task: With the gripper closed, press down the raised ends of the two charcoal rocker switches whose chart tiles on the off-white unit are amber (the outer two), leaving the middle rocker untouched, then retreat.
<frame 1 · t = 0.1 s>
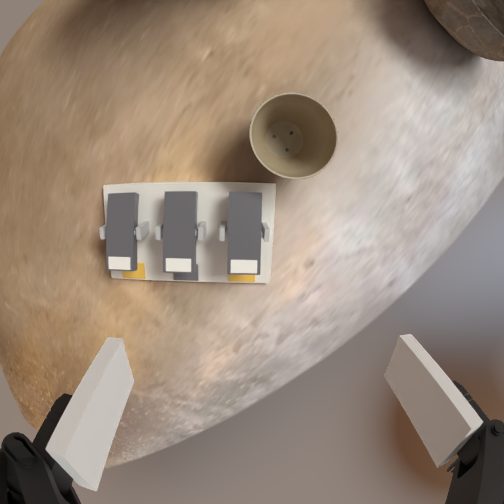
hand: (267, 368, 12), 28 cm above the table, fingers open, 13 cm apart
rocker b: (179, 232, 33), point 4 cm above the table, hinge at -15.0°
rocker c: (244, 233, 34), point 4 cm above the table, hinge at -15.0°
switch unit: (185, 232, 38), on the table
rocker a: (121, 231, 33), point 4 cm above the table, hinge at -15.0°
bowl: (449, 19, 26), on the table
flower pot: (284, 140, 35), on the table
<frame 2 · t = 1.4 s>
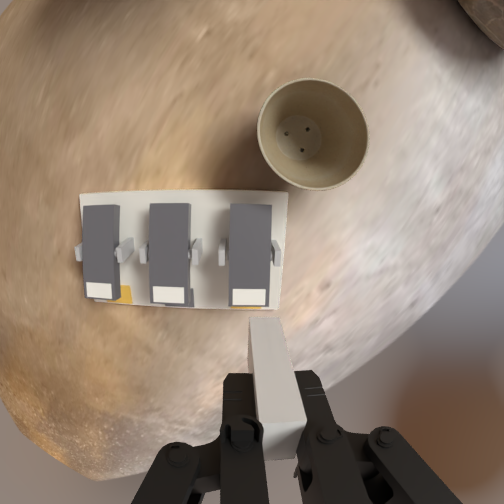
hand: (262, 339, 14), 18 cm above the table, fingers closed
rocker b: (169, 253, 27), point 4 cm above the table, hinge at -15.0°
rocker c: (249, 255, 27), point 4 cm above the table, hinge at -15.0°
switch unit: (177, 250, 31), on the table
rocker a: (100, 252, 26), point 4 cm above the table, hinge at -15.0°
bowl: (474, 10, 19), on the table
flower pot: (298, 138, 28), on the table
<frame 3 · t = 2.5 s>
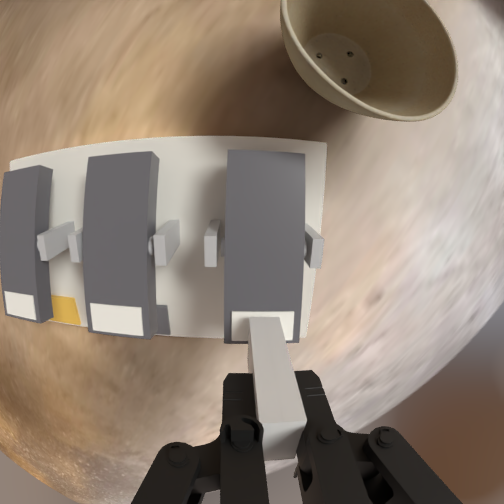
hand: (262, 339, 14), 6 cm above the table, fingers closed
rocker b: (118, 245, 14), point 4 cm above the table, hinge at -15.0°
rocker c: (263, 248, 14), point 4 cm above the table, hinge at -14.8°, touching gripper
switch unit: (141, 242, 18), on the table
rocker a: (22, 244, 13), point 4 cm above the table, hinge at -15.0°
flower pot: (336, 66, 15), on the table
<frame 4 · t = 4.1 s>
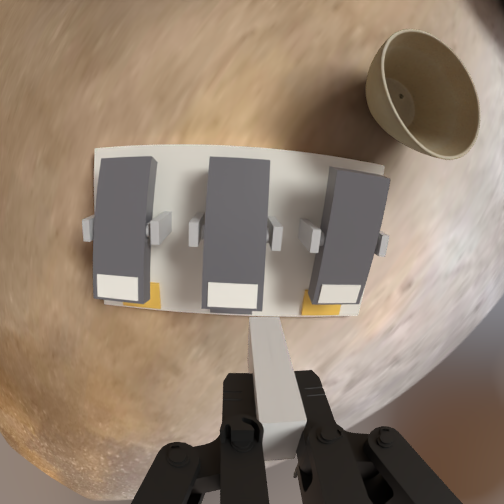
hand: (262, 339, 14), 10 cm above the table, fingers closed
rocker b: (235, 233, 18), point 4 cm above the table, hinge at -15.0°
rocker c: (348, 240, 19), point 4 cm above the table, hinge at 7.3°
switch unit: (234, 233, 23), on the table
rocker a: (122, 228, 18), point 4 cm above the table, hinge at -15.0°
flower pot: (390, 104, 20), on the table
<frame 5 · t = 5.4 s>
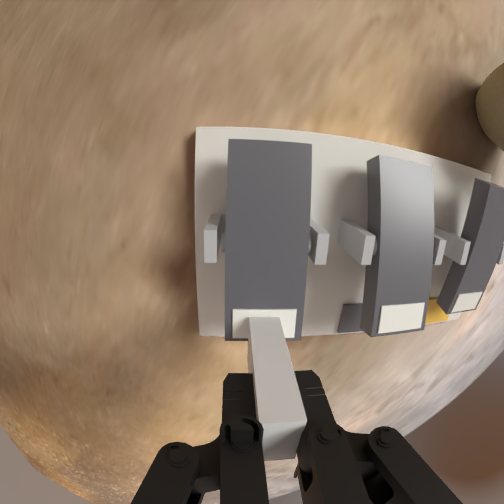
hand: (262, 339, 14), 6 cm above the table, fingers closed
rocker b: (401, 247, 14), point 4 cm above the table, hinge at -15.0°
rocker c: (480, 250, 15), point 4 cm above the table, hinge at 8.0°
switch unit: (370, 242, 18), on the table
rocker a: (266, 243, 14), point 4 cm above the table, hinge at -9.8°, touching gripper
flower pot: (488, 114, 15), on the table
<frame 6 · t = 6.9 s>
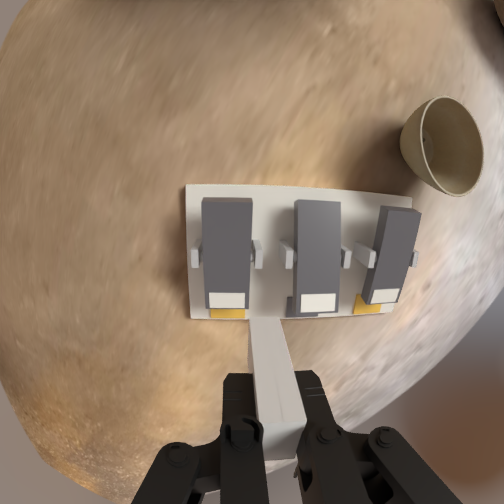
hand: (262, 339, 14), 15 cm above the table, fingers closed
rocker b: (317, 257, 24), point 4 cm above the table, hinge at -15.0°
rocker c: (391, 257, 25), point 4 cm above the table, hinge at 8.1°
switch unit: (305, 254, 28), on the table
rocker a: (226, 256, 24), point 4 cm above the table, hinge at 7.7°
flower pot: (415, 147, 26), on the table
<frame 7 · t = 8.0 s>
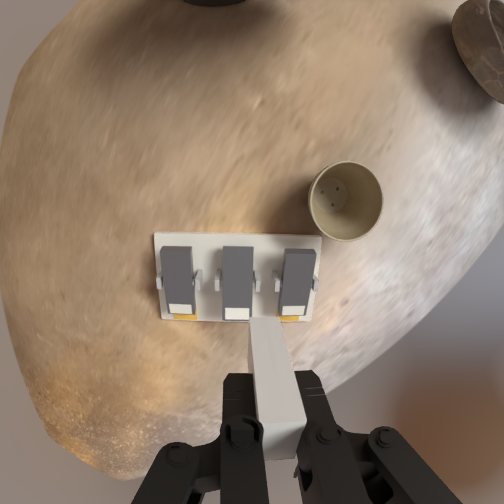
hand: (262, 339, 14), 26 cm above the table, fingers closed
rocker b: (237, 283, 37), point 4 cm above the table, hinge at -15.0°
rocker c: (296, 284, 38), point 4 cm above the table, hinge at 8.1°
switch unit: (237, 278, 41), on the table
rocker a: (178, 282, 37), point 4 cm above the table, hinge at 8.3°
bowl: (475, 60, 30), on the table
flower pot: (329, 194, 38), on the table
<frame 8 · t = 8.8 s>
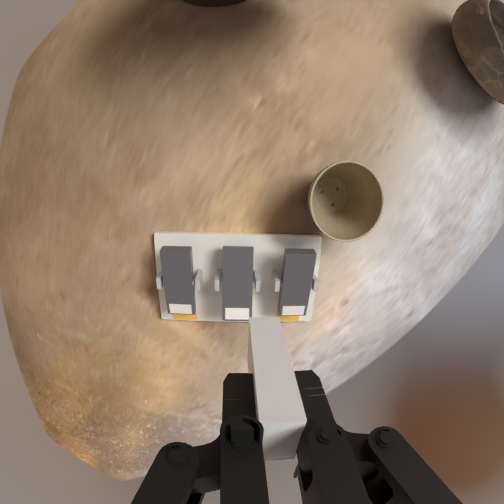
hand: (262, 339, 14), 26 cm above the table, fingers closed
rocker b: (237, 283, 37), point 4 cm above the table, hinge at -15.0°
rocker c: (295, 284, 38), point 4 cm above the table, hinge at 8.1°
switch unit: (237, 278, 41), on the table
rocker a: (178, 282, 37), point 4 cm above the table, hinge at 8.4°
bowl: (475, 60, 30), on the table
flower pot: (329, 194, 38), on the table
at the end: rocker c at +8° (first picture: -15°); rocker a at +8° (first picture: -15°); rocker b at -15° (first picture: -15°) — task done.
